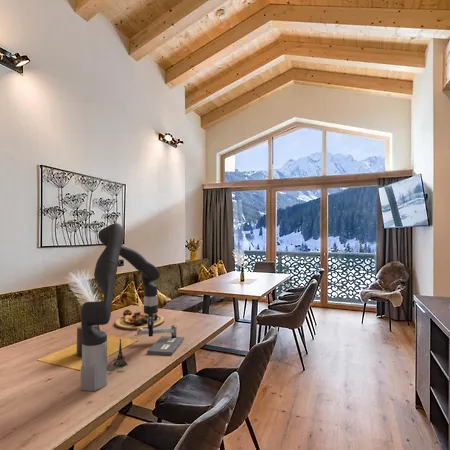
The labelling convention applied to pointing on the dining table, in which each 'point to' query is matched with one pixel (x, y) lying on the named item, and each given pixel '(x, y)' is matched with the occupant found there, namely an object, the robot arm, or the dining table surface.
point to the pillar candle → (79, 339)
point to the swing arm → (159, 330)
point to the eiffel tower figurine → (117, 361)
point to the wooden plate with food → (136, 320)
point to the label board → (165, 345)
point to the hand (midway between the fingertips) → (150, 336)
